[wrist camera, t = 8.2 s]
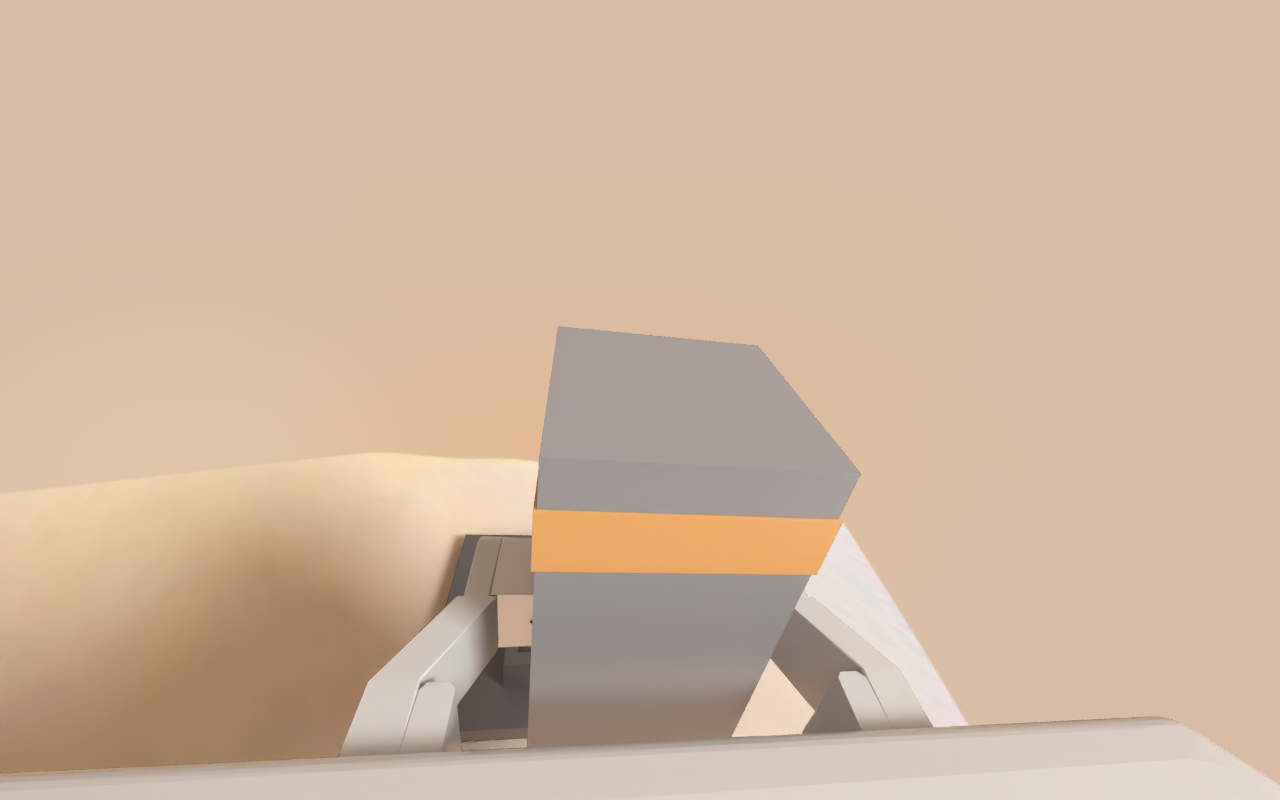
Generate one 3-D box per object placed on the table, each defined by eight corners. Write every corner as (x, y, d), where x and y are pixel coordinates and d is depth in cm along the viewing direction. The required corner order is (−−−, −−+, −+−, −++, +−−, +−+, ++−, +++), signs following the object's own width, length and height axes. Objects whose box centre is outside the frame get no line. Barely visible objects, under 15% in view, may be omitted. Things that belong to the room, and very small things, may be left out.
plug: (521, 830, 12) (534, 459, 6) (537, 653, 16) (555, 325, 10) (694, 817, 12) (866, 476, 6) (668, 651, 16) (759, 344, 10)
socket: (411, 745, 21) (404, 711, 20) (466, 544, 31) (464, 513, 30) (735, 725, 24) (749, 695, 22) (688, 547, 34) (696, 518, 33)
